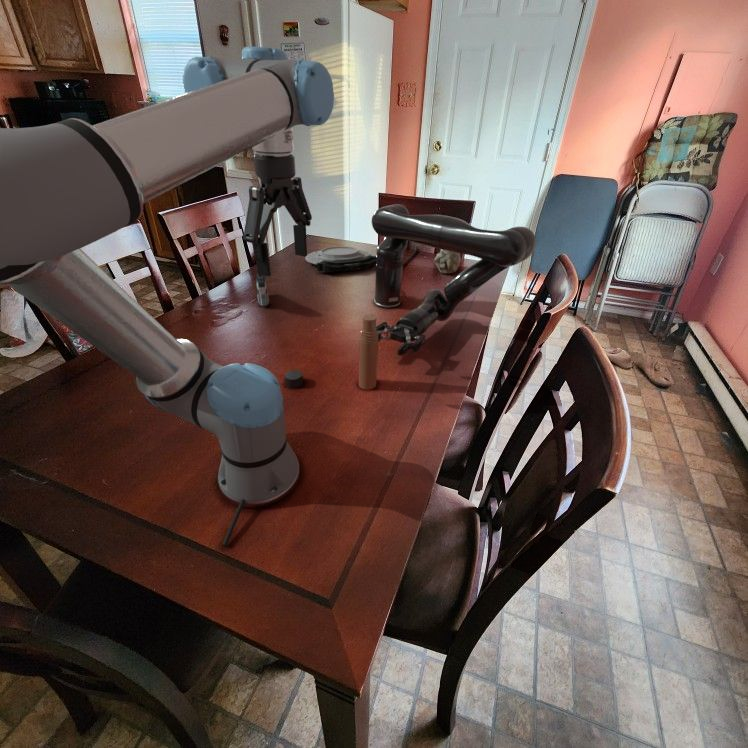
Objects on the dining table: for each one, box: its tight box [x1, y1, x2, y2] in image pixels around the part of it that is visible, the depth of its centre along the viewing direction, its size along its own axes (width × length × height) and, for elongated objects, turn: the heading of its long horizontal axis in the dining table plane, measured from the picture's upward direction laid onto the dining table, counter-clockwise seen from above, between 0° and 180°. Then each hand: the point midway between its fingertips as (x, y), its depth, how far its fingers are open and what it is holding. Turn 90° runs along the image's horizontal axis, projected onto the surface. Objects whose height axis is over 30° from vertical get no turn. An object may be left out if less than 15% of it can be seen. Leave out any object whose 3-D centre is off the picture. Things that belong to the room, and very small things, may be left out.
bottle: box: [358, 314, 379, 391], centre depth 102 cm, size 5×5×20 cm
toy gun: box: [255, 272, 270, 307], centre depth 140 cm, size 4×19×10 cm
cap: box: [284, 369, 304, 389], centre depth 106 cm, size 4×4×3 cm
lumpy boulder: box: [433, 249, 462, 275], centre depth 175 cm, size 11×11×15 cm
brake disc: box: [304, 245, 376, 274], centre depth 179 cm, size 32×30×5 cm
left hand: (283, 264), depth 89 cm, fingers open, 13 cm apart
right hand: (385, 347), depth 110 cm, fingers open, 8 cm apart
